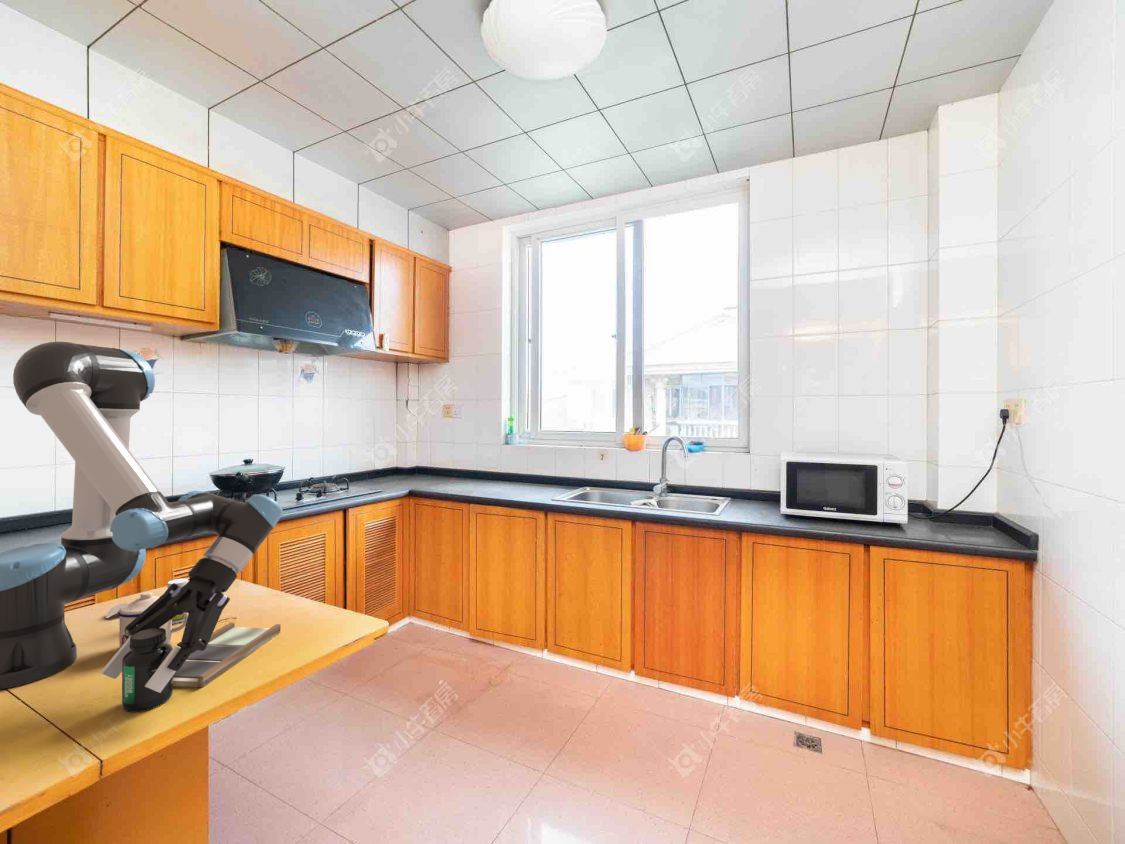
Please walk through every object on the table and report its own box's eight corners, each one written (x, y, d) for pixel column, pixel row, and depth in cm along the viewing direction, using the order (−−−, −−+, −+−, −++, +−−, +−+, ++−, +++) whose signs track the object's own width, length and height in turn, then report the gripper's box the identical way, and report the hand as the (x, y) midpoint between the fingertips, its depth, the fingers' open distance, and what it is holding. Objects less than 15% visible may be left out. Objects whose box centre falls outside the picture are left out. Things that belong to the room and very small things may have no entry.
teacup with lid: (111, 660, 101) (111, 603, 100) (125, 642, 109) (125, 589, 109) (184, 648, 106) (184, 594, 106) (192, 632, 114) (193, 581, 114)
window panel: (141, 684, 92) (141, 674, 92) (230, 631, 115) (230, 622, 115) (203, 687, 91) (203, 676, 91) (280, 632, 114) (280, 624, 114)
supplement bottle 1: (125, 718, 82) (126, 646, 82) (118, 702, 86) (118, 634, 86) (177, 700, 87) (177, 632, 87) (167, 686, 91) (168, 621, 91)
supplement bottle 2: (171, 616, 123) (171, 578, 123) (195, 614, 124) (196, 576, 124) (158, 625, 118) (158, 585, 117) (184, 623, 119) (184, 583, 119)
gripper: (276, 582, 97) (193, 704, 82) (193, 568, 105) (105, 677, 90) (250, 563, 92) (158, 688, 77) (166, 550, 100) (68, 661, 85)
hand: (129, 682), depth 84 cm, fingers open, 11 cm apart
